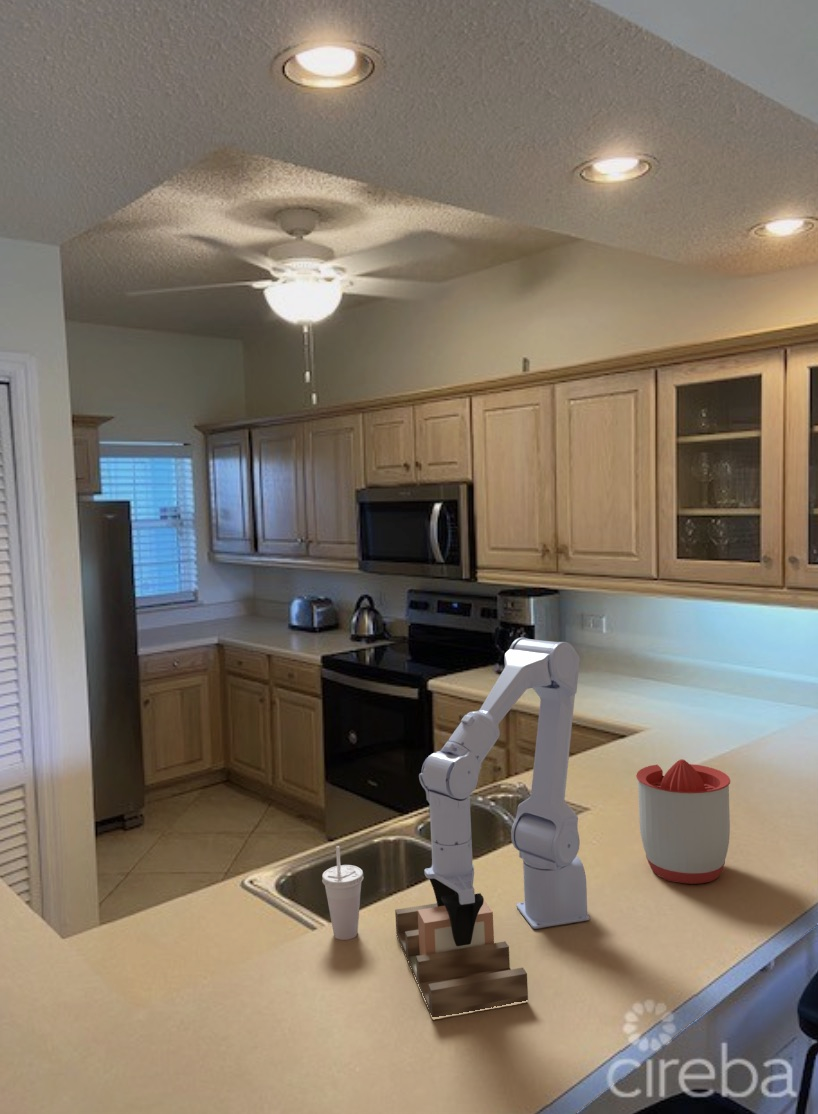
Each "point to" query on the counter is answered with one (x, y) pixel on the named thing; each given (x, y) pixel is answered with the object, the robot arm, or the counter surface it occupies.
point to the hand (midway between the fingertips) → (455, 930)
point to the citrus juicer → (684, 821)
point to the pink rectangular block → (439, 932)
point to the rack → (460, 972)
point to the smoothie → (343, 897)
